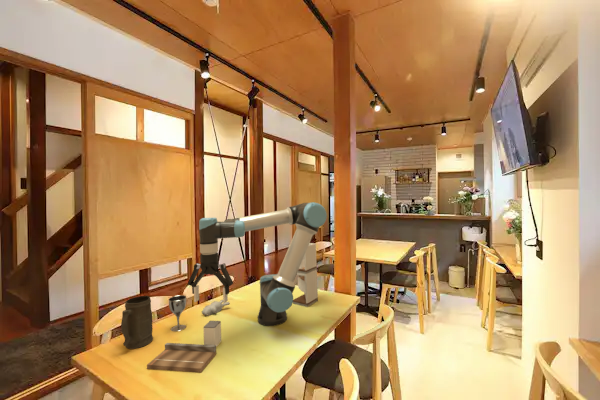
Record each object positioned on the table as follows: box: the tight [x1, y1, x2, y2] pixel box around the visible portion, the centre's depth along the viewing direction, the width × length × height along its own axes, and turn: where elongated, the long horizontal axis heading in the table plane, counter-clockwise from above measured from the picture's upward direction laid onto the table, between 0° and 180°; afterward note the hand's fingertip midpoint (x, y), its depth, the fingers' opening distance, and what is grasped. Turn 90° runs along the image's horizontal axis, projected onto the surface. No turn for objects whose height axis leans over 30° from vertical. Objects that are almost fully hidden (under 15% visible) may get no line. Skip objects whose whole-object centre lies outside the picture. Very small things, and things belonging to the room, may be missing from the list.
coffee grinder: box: [292, 242, 319, 308], centre depth 163 cm, size 11×11×35 cm
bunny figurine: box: [201, 299, 231, 317], centre depth 154 cm, size 10×5×15 cm
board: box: [146, 342, 217, 374], centre depth 106 cm, size 22×12×4 cm, turn 81°
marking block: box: [202, 320, 222, 348], centre depth 118 cm, size 5×6×9 cm
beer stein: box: [120, 295, 154, 350], centre depth 119 cm, size 15×11×20 cm
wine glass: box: [168, 294, 187, 332], centre depth 134 cm, size 8×8×15 cm
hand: (211, 301), depth 118 cm, fingers open, 13 cm apart
